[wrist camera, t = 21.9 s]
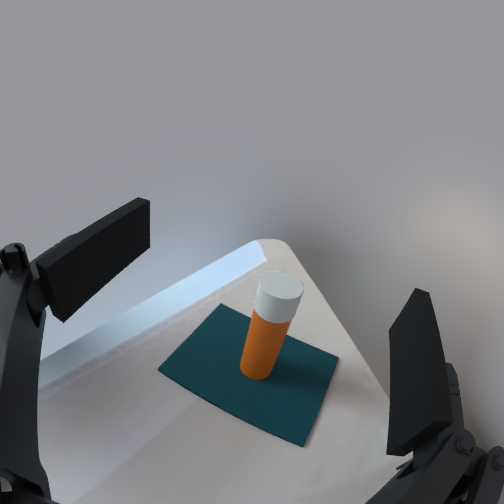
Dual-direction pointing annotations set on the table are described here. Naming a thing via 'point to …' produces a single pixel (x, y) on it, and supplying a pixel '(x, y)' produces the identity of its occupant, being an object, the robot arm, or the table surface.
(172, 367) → the mat
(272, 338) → the glue stick
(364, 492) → the table surface
